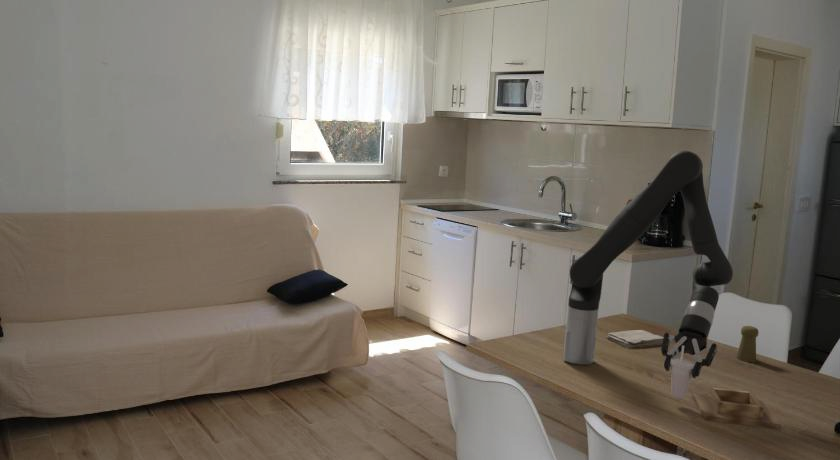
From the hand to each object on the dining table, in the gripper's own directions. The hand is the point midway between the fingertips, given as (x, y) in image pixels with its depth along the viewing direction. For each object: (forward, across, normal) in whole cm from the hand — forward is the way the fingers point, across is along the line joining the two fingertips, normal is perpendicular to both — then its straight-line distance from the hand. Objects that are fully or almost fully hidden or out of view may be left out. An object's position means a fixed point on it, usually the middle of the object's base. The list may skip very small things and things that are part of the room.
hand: (680, 372), depth 192 cm
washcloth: (-29, -28, +45) cm, 60 cm away
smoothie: (+4, 0, +6) cm, 7 cm away
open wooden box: (+1, +13, +12) cm, 18 cm away
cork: (-35, +7, +49) cm, 61 cm away
